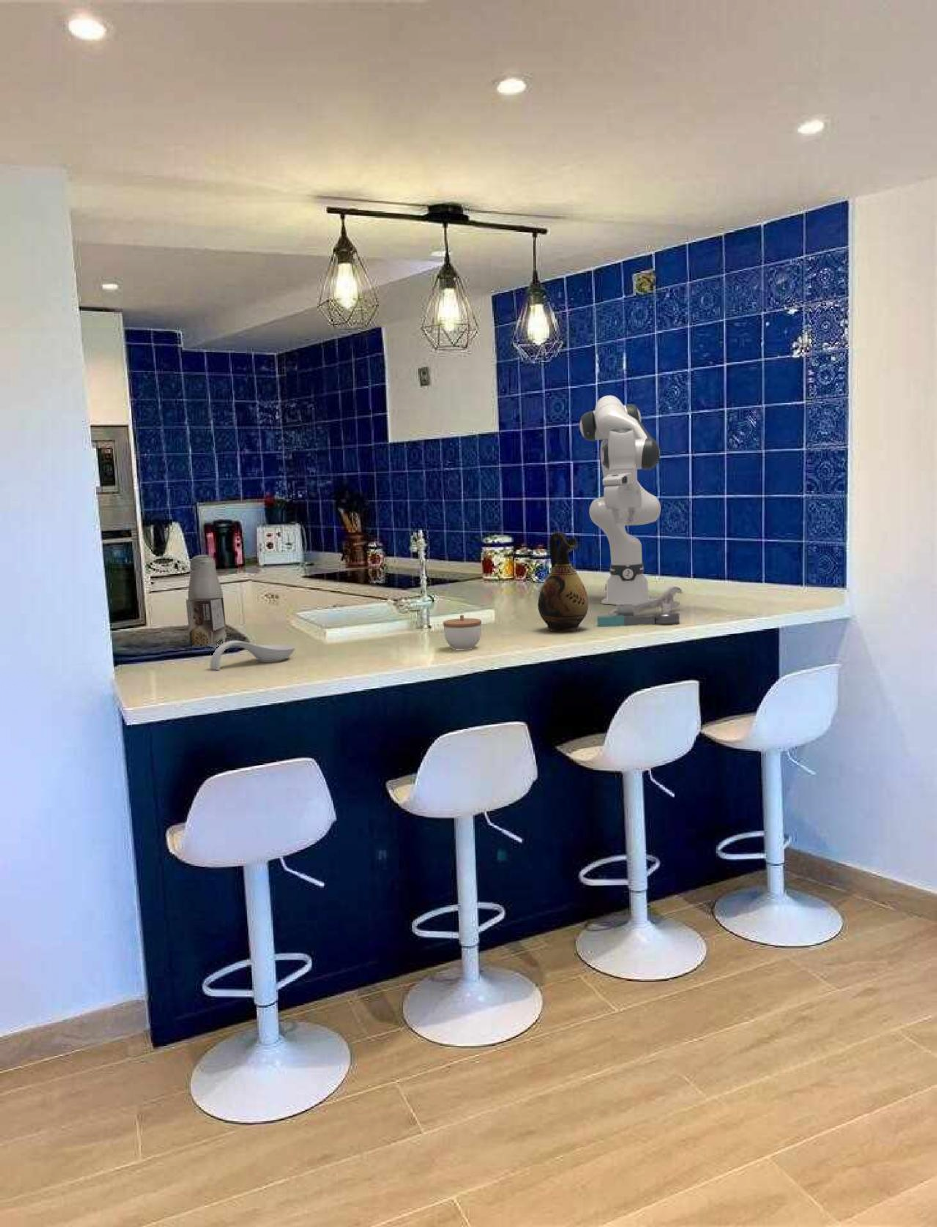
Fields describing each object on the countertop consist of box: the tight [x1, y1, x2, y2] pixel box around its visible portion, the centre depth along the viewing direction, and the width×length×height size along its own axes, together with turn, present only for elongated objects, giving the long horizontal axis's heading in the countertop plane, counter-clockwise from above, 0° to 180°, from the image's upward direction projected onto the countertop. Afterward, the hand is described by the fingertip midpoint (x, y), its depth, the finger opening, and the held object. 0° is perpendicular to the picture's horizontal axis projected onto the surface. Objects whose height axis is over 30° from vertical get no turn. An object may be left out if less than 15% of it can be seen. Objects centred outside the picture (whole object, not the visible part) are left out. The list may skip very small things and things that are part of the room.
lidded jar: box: [442, 614, 482, 650], centre depth 270 cm, size 11×11×9 cm
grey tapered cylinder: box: [187, 553, 224, 601], centre depth 300 cm, size 10×10×28 cm
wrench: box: [608, 586, 683, 616], centre depth 318 cm, size 8×2×30 cm
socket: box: [615, 604, 635, 616], centre depth 306 cm, size 5×5×5 cm
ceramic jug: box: [537, 530, 589, 633], centre depth 293 cm, size 17×15×30 cm
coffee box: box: [185, 597, 228, 648], centre depth 283 cm, size 9×6×16 cm
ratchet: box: [596, 604, 680, 627], centre depth 297 cm, size 8×25×6 cm, turn 85°
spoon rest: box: [209, 640, 296, 671], centre depth 262 cm, size 24×12×7 cm, turn 129°
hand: (624, 523), depth 307 cm, fingers open, 8 cm apart
